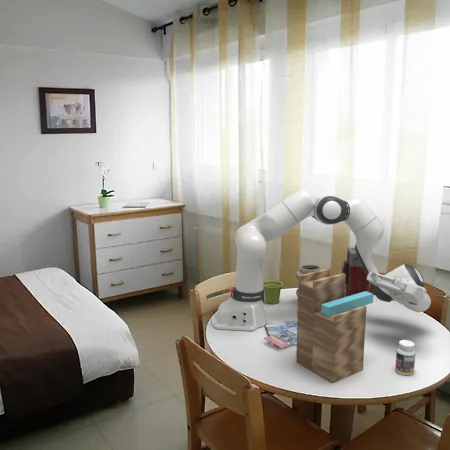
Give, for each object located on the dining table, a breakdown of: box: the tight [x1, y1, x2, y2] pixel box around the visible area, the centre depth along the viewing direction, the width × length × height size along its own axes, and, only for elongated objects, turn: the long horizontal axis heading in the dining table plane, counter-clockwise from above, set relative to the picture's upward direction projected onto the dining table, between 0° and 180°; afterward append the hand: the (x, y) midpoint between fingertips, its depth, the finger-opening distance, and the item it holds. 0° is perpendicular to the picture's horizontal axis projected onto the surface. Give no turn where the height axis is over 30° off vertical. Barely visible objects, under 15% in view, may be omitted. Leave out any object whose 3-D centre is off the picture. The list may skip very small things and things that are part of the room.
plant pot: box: [263, 280, 284, 305], centre depth 216 cm, size 9×9×9 cm
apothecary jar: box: [295, 263, 321, 298], centre depth 210 cm, size 12×12×18 cm
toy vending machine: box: [341, 242, 370, 297], centre depth 217 cm, size 9×11×28 cm
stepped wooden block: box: [295, 268, 368, 384], centre depth 155 cm, size 14×16×30 cm
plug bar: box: [321, 291, 374, 317], centre depth 155 cm, size 21×3×3 cm, turn 125°
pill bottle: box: [395, 339, 416, 376], centre depth 154 cm, size 6×6×10 cm
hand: (382, 277), depth 165 cm, fingers open, 8 cm apart
